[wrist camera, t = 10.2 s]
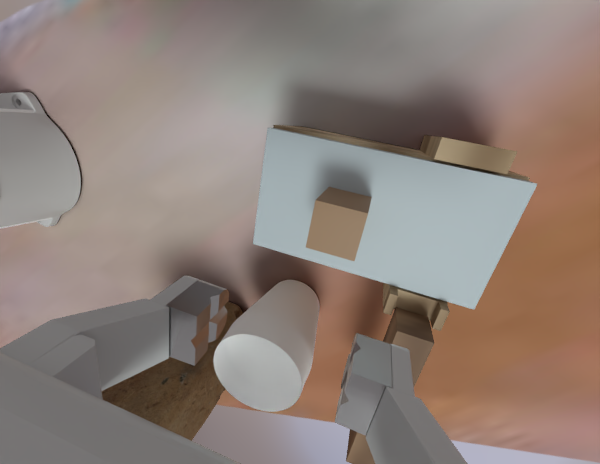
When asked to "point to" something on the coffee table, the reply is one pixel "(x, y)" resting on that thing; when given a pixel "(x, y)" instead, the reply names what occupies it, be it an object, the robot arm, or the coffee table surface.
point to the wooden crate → (439, 152)
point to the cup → (270, 348)
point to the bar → (419, 341)
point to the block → (175, 389)
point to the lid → (387, 214)
